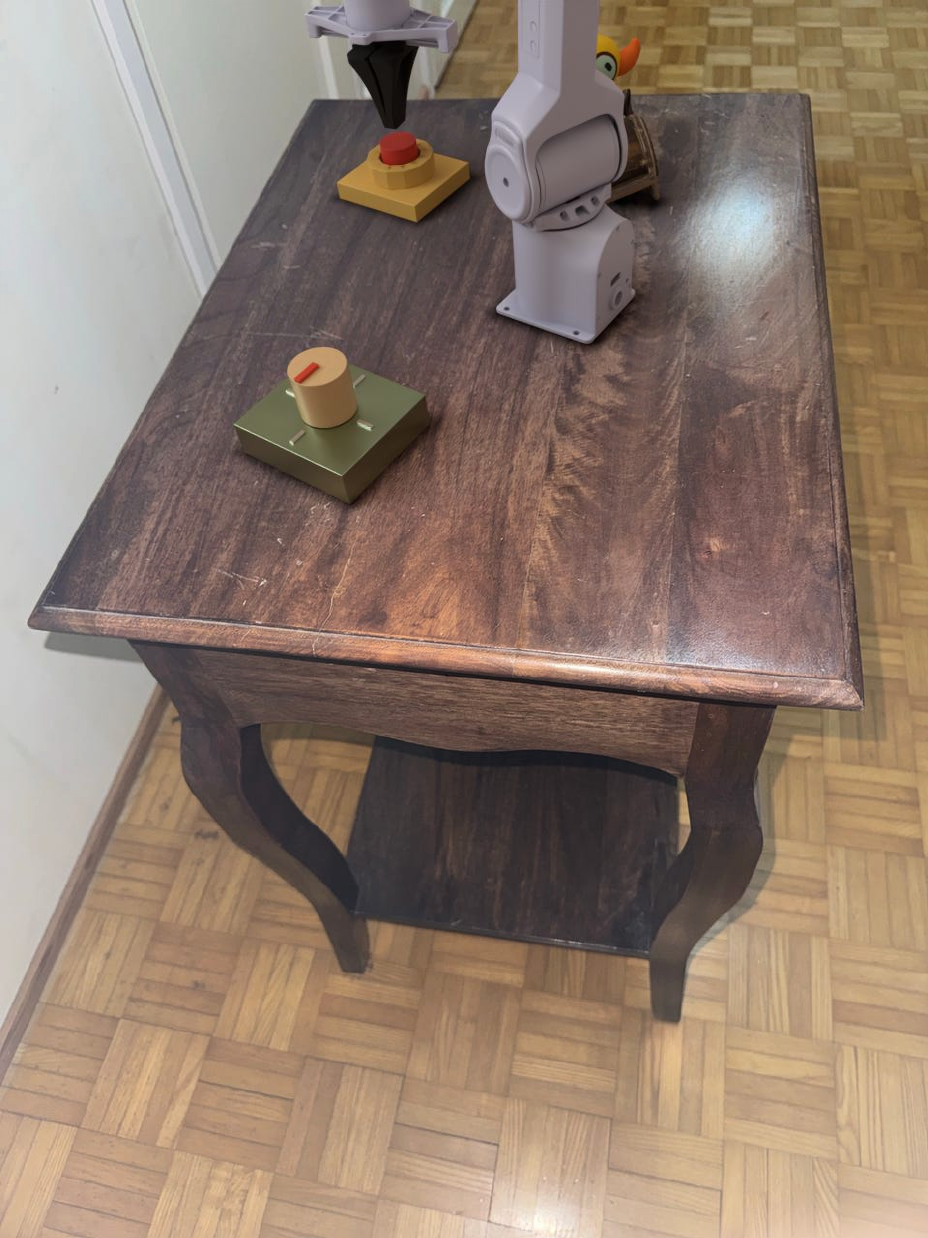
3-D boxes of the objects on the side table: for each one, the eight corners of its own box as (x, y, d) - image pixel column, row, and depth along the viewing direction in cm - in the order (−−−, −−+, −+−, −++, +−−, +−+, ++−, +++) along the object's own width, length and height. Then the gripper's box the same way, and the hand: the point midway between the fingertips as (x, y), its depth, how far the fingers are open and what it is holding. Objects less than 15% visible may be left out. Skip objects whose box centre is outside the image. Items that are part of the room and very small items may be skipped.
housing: (470, 178, 92) (466, 143, 90) (417, 222, 88) (411, 187, 86) (393, 156, 96) (388, 123, 94) (339, 198, 92) (332, 164, 90)
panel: (430, 424, 71) (425, 392, 69) (350, 505, 67) (341, 474, 64) (325, 379, 76) (317, 348, 73) (244, 452, 71) (231, 422, 69)
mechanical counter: (665, 175, 79) (677, 95, 83) (520, 160, 81) (538, 82, 84) (652, 238, 86) (664, 162, 89) (519, 223, 87) (536, 148, 91)
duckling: (623, 119, 96) (628, 14, 88) (646, 141, 93) (653, 34, 85) (524, 147, 95) (520, 42, 87) (544, 170, 92) (541, 64, 84)
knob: (326, 382, 71) (313, 336, 67) (369, 401, 69) (358, 354, 65) (288, 415, 69) (273, 370, 65) (331, 435, 67) (318, 389, 63)
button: (425, 153, 90) (423, 135, 89) (403, 170, 88) (400, 153, 87) (397, 146, 91) (394, 128, 90) (375, 162, 90) (371, 145, 88)
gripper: (273, -30, 77) (310, 133, 88) (423, -17, 72) (443, 154, 83) (316, -62, 80) (346, 99, 91) (462, -51, 75) (476, 117, 86)
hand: (394, 123), depth 87 cm, fingers closed
